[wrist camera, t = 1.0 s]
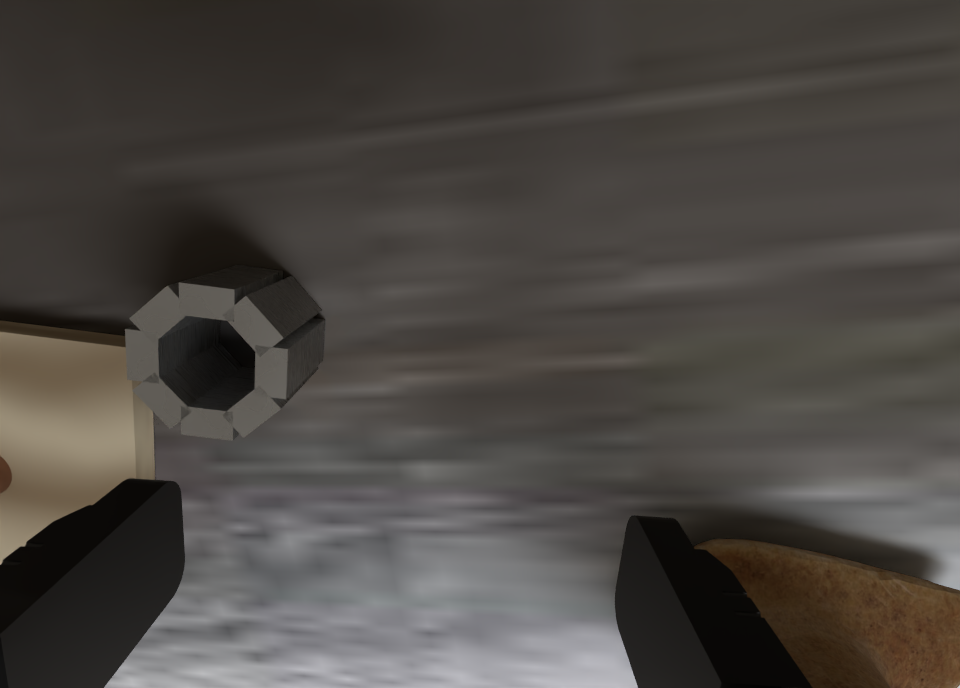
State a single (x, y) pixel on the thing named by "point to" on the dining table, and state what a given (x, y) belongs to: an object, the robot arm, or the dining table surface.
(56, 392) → the post stand
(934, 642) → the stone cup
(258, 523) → the dining table surface
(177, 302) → the ring
